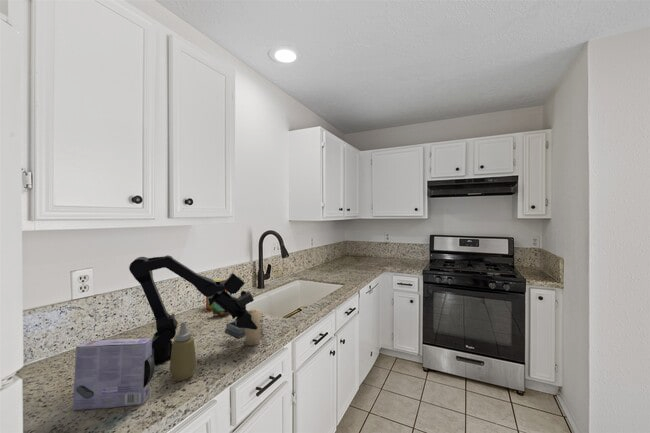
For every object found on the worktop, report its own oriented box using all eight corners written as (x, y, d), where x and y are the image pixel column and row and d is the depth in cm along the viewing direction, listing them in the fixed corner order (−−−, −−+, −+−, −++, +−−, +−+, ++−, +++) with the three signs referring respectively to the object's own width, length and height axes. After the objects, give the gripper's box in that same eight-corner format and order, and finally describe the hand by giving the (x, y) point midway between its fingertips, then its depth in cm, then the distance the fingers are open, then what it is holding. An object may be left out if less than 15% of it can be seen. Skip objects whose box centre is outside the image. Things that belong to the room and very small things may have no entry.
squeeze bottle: (178, 386, 88) (178, 329, 88) (164, 378, 92) (164, 324, 92) (201, 373, 95) (201, 321, 95) (187, 366, 99) (187, 316, 99)
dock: (239, 338, 122) (239, 330, 122) (224, 331, 129) (224, 323, 129) (259, 329, 131) (259, 322, 130) (244, 324, 137) (244, 317, 137)
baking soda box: (214, 311, 155) (214, 282, 155) (206, 309, 158) (206, 281, 158) (227, 306, 163) (227, 278, 163) (219, 304, 166) (219, 277, 166)
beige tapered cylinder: (251, 346, 114) (251, 314, 114) (242, 342, 118) (242, 311, 118) (262, 341, 119) (262, 310, 119) (253, 337, 123) (254, 307, 122)
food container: (217, 320, 142) (217, 300, 142) (210, 317, 146) (210, 298, 146) (237, 313, 152) (237, 295, 152) (231, 310, 156) (231, 292, 156)
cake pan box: (155, 393, 84) (155, 335, 84) (147, 405, 79) (147, 343, 79) (84, 400, 81) (84, 339, 81) (71, 412, 76) (71, 348, 76)
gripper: (245, 292, 108) (273, 316, 113) (238, 281, 125) (262, 303, 129) (224, 316, 104) (253, 339, 109) (219, 301, 121) (245, 322, 126)
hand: (254, 324), depth 119 cm, fingers open, 9 cm apart
